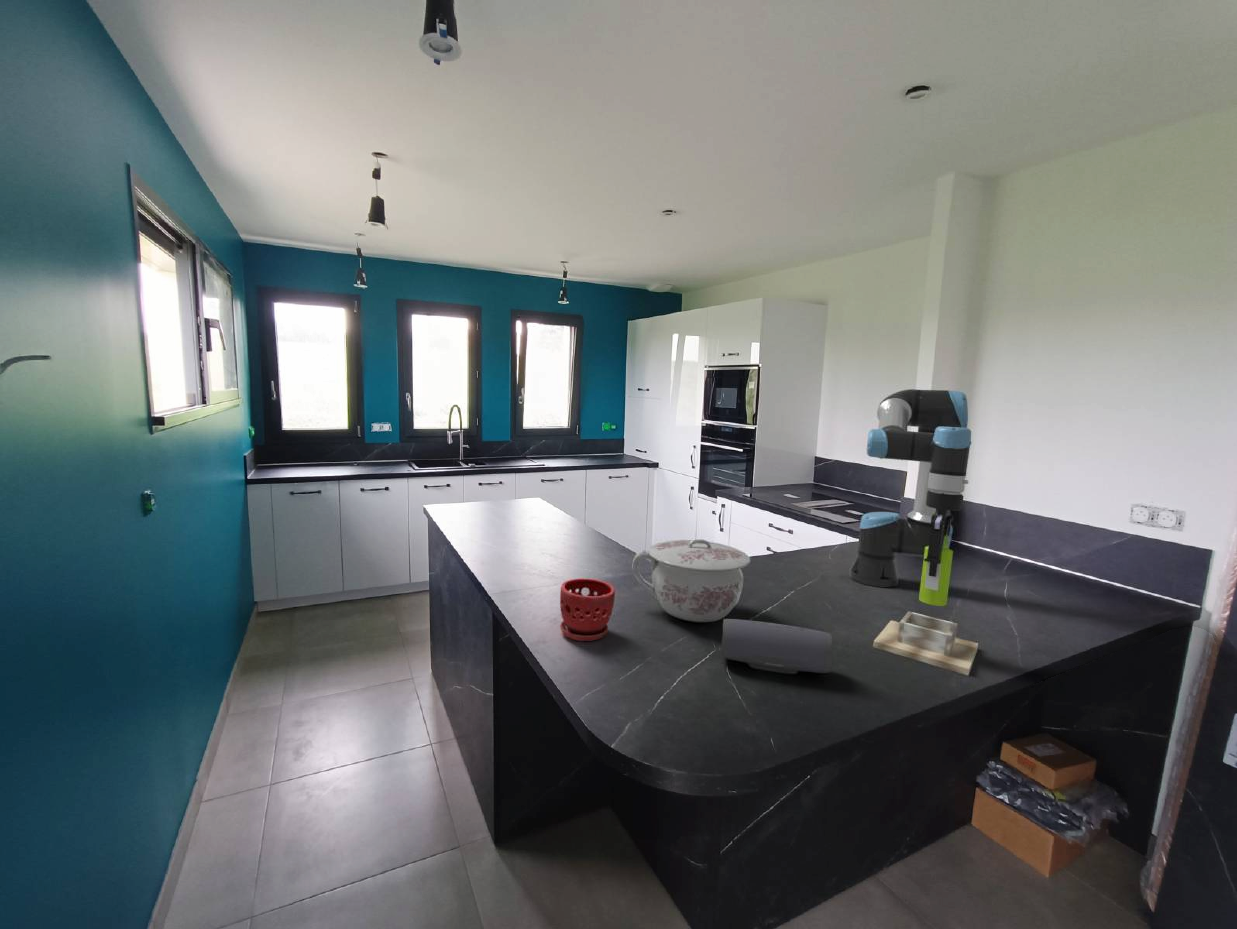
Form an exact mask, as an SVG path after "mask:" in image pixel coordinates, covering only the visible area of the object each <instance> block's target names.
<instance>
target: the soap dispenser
mask: <svg viewBox="0 0 1237 929" xmlns="http://www.w3.org/2000/svg"><path fill="white" fill-rule="evenodd" d="M948 540H949V536H948V535H946V536H945V537H944V543H943V549H942V555H941V569H940V577H939V585H938V590H937V591H936V590H932V589H927V588H925V580H926V572H927V564H928V562H927V561H924V559H927V555H928V547H929V546H926V547H925V553H924V557H923V561H922V562H923V563H922V570H921V571H922V572H921V578H920V585H919V594H918V600H919V601H920V602H922V603H924V604H927V605H930V606H934V607H935V606H936V607H945V606H946V605H947V603H948V594H949V588H950V587H949V586H950V579H951V571H952V563H953V555H954V551H953V550H952V549H950V548H948ZM947 548H948V549H947ZM933 557H934V556H933Z"/></svg>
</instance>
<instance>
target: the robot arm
mask: <svg viewBox="0 0 1237 929" xmlns="http://www.w3.org/2000/svg"><path fill="white" fill-rule="evenodd" d="M876 411H877V412H876V415H877V416H876V417H877V419H878V427H877V428H874V429H873V428H871V429H870V430H869V431H868V436H867V444H866V454H867V456H869V457H870V458H876V459H877V458H878V459H883V460H884V459H886V460H897V461H913V462H919V463H918V471H917V480H916V486H915V487H916V488H915V494H914V503H913V510H911V511H910V512H908V513H907V515H906V516H907V517H906V518H901V516H900V514H899V513H897V512H892V511H891V512H890V511H871V512H867V513H865V514H862V516H861V520H860V525H859V527H858V528H859V534H858V535H859V536H858V544H857V553H856V556H855V558H854V561H853V563H852V565H851V567H850V568H849V575H848V577H849V578H850V579H851V580H854V581H855V582H857V583H859V584H864V585H866V586H867V585H868V586H871V587H878V588H893V587H896V586H898V584H899V575H898V574H899V573H898V570H897V566H896V554H900V555H905V556H911V557H912V556H913V557H918V558H923V561H927V562H928V564H927V572H926V580H925V588H927V589H932V590H936V591H937V590H938V585H939V577H940V569H941V555H942V549H943V543H944V537H945V536H946V535H948V536H949V540H948V548H947V549H950V544H951V541H952V535H953V526H952V523H953V520H954V518H953V517H954V516H953V514H952V513H951V511H952V512H953V511H954V512H955V511H961V510H962V509H963V506H964V494H962V493H964V492H965V487H966V486H965V485H968V484H969V480H967V479H966V478H967V470H968V464H969V463H968V462H969V456H970V448H971V445H972V431H971V429H970V428H968V422H969V406H968V398H967V395H966V393H964V392H962V391H957V390H950V389H948V390H946V389H942V390H941V389H916V388H914V389H913V388H912V389H903V390H900V391H896V392H894V393H892V394H890V395H888V396H887V397H885V398H884V399H883V400H882V401H881V402H880V403H879V405H878V408H877V410H876ZM908 427H913V428H914V427H916V428H917V431H908ZM926 546H929V547H928V555H927V559H924V553H925V547H926ZM933 556H934V557H933Z"/></svg>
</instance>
